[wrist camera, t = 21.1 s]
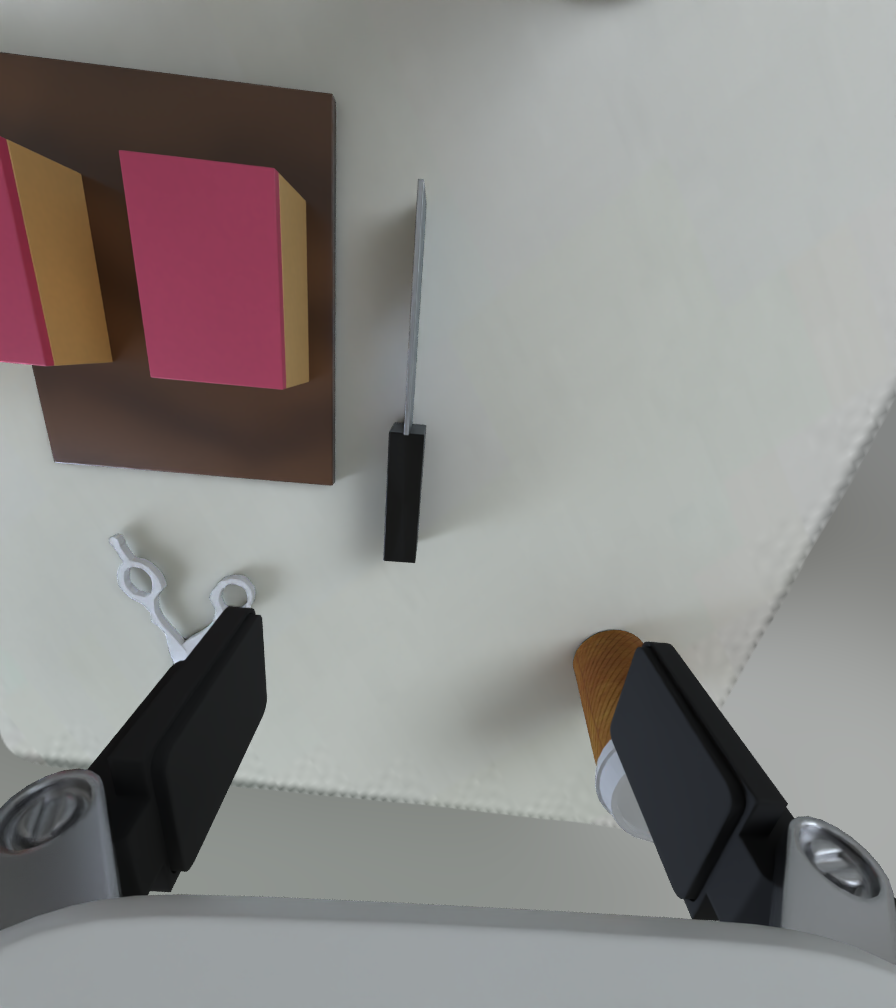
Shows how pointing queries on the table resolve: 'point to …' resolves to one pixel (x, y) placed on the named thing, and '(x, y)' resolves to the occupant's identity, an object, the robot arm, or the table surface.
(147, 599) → the scissors
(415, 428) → the knife
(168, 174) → the cake
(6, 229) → the cake slice
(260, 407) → the cake board
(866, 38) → the table surface
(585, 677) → the disposable coffee cup
